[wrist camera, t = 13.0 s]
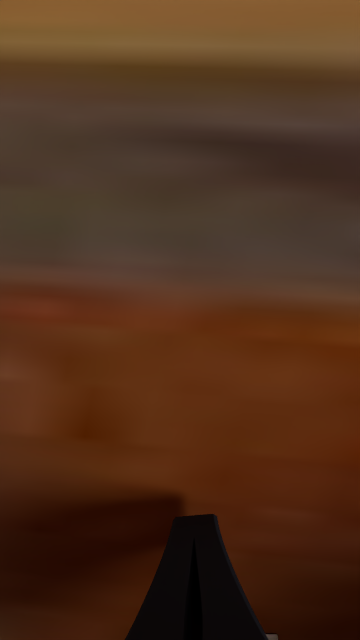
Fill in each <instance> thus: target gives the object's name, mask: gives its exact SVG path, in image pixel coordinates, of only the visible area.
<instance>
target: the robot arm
mask: <svg viewBox="0 0 360 640" xmlns="http://www.w3.org/2000/svg"><path fill="white" fill-rule="evenodd" d="M125 640H268V638H267V636H266V634H265V632H264V631H263V629H262V627H261V625H260V623H259V621H258V620H257V618H256V616H255V614H254V612H253V610H252V608H251V606H250V604H249V602H248V600H247V598H246V596H245V594H244V592H243V589H242V587H241V585H240V583H239V581H238V578H237V576H236V574H235V571H234V569H233V567H232V564H231V562H230V559H229V557H228V554H227V552H226V549H225V546H224V543H223V540H222V537H221V533H220V530H219V525H218V520H217V516H215V515H214V514H207V515H194V516H182V517H176V518H175V519H174V520H173V524H172V528H171V531H170V535H169V538H168V541H167V545H166V547H165V550H164V553H163V556H162V559H161V561H160V564H159V566H158V569H157V572H156V574H155V577H154V579H153V582H152V584H151V586H150V589H149V591H148V593H147V595H146V597H145V600H144V602H143V604H142V606H141V608H140V611H139V613H138V615H137V617H136V619H135V621H134V623H133V625H132V627H131V629H130V631H129V633H128V635H127V637H126V638H125Z"/></svg>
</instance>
